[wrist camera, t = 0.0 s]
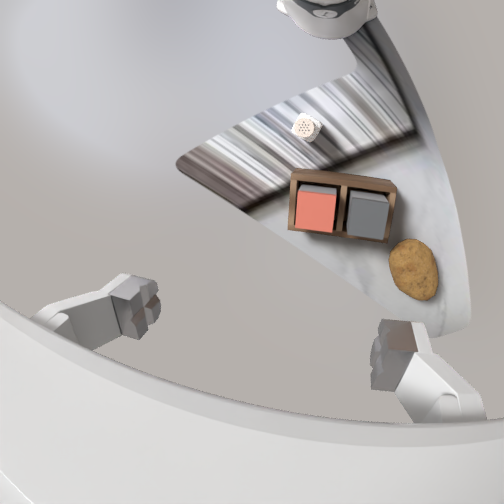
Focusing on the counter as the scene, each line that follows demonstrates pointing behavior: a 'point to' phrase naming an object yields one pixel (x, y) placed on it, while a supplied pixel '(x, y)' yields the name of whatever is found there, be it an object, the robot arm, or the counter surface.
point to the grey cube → (367, 215)
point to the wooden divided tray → (340, 197)
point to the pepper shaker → (306, 127)
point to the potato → (414, 269)
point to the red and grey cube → (315, 208)
